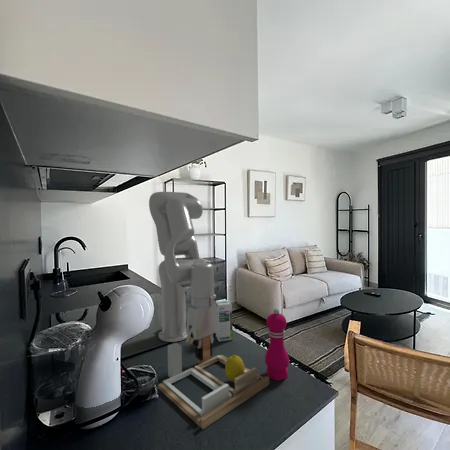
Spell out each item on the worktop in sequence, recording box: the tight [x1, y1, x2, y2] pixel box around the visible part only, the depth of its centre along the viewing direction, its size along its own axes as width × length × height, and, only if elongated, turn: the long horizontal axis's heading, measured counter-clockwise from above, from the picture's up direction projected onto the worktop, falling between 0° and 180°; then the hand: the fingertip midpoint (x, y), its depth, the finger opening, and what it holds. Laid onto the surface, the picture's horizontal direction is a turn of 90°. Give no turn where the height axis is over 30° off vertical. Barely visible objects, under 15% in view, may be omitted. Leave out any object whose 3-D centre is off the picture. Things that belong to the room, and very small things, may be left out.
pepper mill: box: [264, 308, 290, 381], centre depth 80 cm, size 7×7×20 cm
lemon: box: [224, 354, 245, 384], centre depth 77 cm, size 6×6×8 cm
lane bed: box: [157, 354, 270, 430], centre depth 75 cm, size 20×24×2 cm
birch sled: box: [193, 335, 260, 396], centre depth 81 cm, size 21×10×9 cm, turn 42°
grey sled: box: [162, 342, 232, 418], centre depth 73 cm, size 21×10×9 cm, turn 42°
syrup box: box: [214, 299, 234, 343], centre depth 106 cm, size 6×6×14 cm
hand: (203, 356), depth 87 cm, fingers closed on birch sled, 3 cm apart
